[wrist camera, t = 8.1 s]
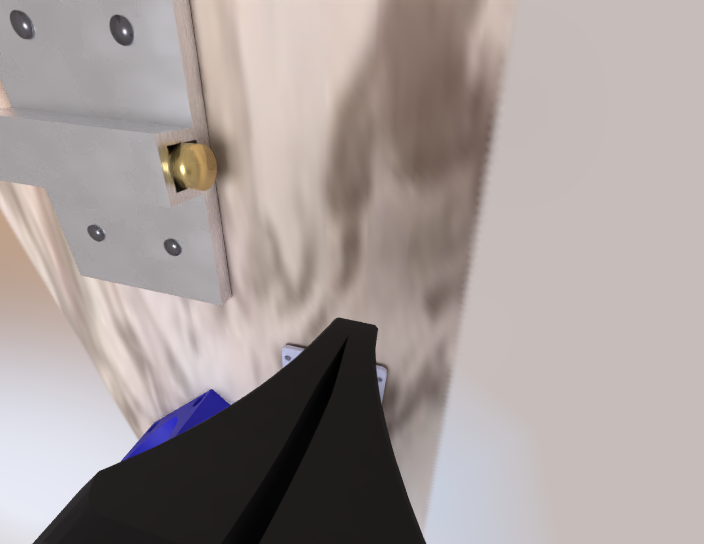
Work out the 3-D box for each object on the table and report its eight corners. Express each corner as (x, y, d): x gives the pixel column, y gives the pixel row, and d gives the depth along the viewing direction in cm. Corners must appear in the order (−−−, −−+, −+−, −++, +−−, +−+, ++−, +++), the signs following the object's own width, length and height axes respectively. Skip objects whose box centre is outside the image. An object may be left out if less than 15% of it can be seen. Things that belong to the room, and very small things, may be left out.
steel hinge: (177, -77, 14) (97, -126, 11) (231, 296, 24) (197, 329, 21) (-35, -74, 16) (-157, -116, 13) (94, 267, 26) (44, 294, 23)
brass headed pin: (213, 141, 17) (184, 148, 15) (219, 184, 19) (193, 196, 17) (19, 118, 20) (-28, 121, 18) (35, 158, 21) (-7, 165, 19)
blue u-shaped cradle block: (186, 446, 37) (145, 502, 32) (155, 421, 36) (108, 475, 31) (247, 417, 31) (209, 481, 26) (213, 387, 30) (166, 447, 25)
